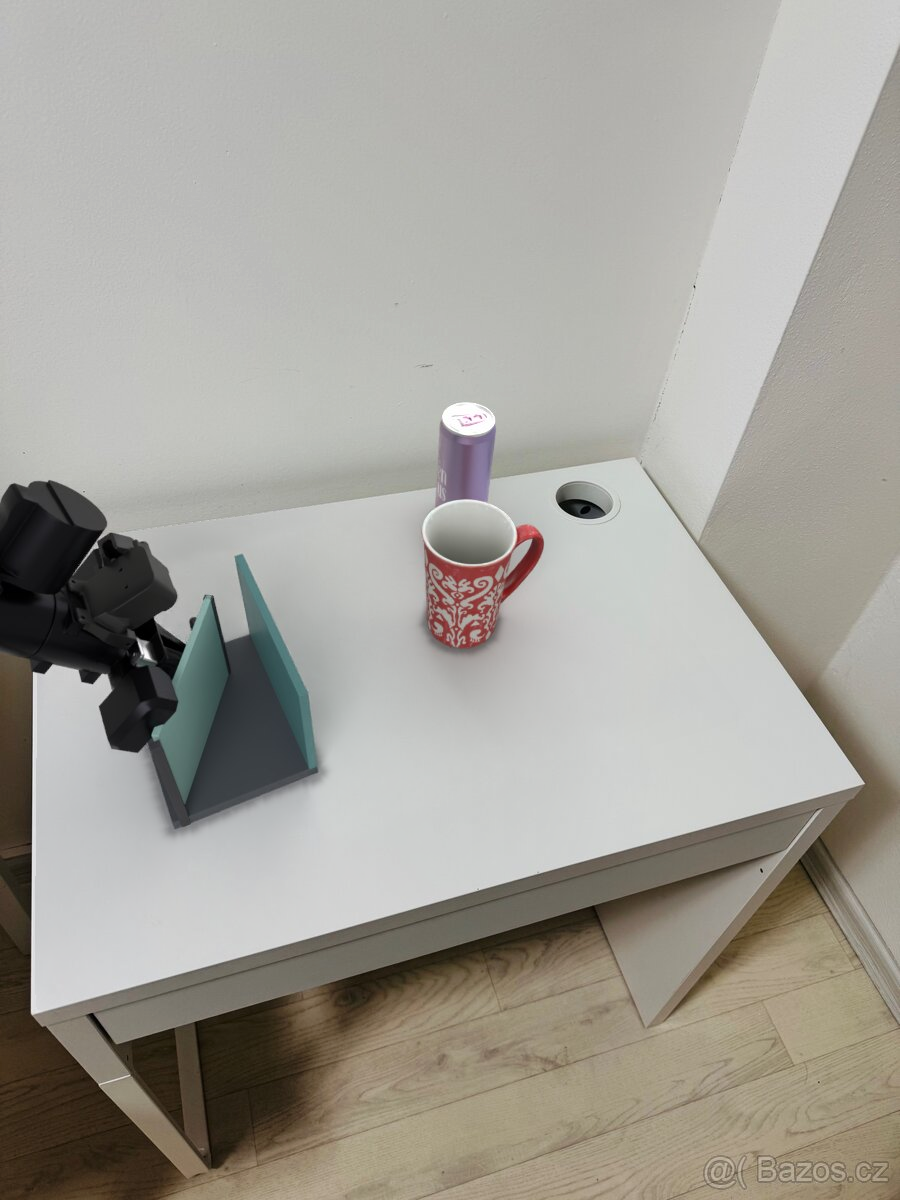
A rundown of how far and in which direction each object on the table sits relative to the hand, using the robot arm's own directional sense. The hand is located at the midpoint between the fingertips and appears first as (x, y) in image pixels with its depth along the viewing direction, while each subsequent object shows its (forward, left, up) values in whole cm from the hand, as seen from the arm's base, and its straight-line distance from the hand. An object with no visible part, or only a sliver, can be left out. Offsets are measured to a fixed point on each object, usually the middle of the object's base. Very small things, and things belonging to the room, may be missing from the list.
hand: (201, 664), depth 76 cm
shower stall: (+2, -2, -6) cm, 7 cm away
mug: (+22, +17, -6) cm, 29 cm away
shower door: (+1, -4, -5) cm, 6 cm away
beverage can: (+17, +31, -6) cm, 36 cm away
